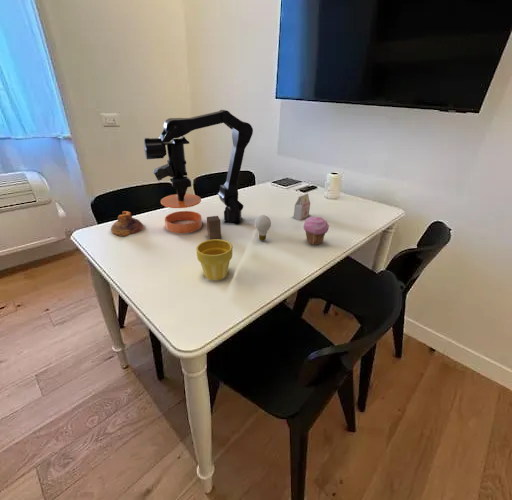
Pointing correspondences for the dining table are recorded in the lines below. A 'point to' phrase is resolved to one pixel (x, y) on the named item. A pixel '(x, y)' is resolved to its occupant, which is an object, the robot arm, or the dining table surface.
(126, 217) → the bell
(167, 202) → the lid
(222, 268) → the flower pot
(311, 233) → the cupcake
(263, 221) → the light bulb
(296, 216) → the white milk carton
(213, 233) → the block
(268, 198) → the dining table surface
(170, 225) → the pot
